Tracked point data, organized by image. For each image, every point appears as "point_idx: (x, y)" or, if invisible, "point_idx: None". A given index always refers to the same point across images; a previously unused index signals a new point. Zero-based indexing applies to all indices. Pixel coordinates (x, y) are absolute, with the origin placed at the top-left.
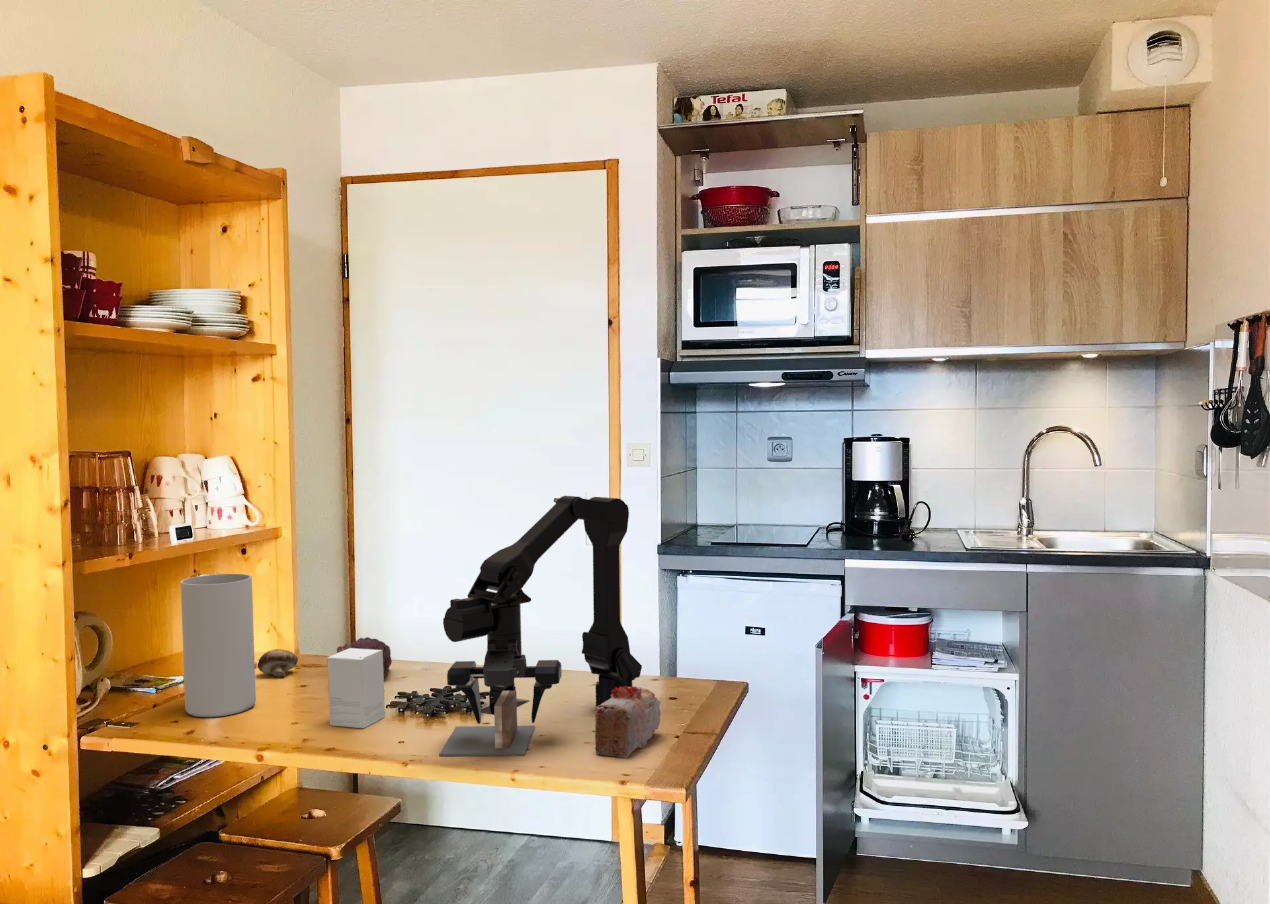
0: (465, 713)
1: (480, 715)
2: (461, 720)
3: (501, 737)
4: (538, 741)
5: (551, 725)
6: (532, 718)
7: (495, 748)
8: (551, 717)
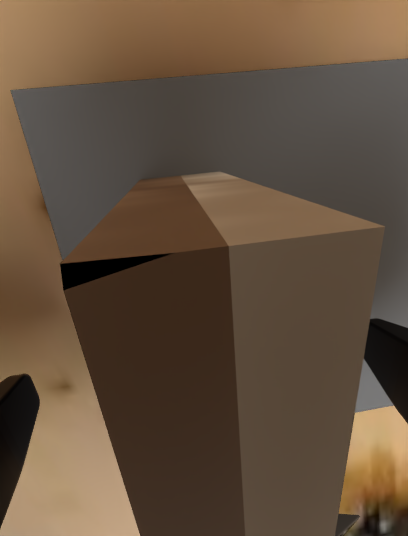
0: (380, 502)
1: (388, 369)
2: (390, 457)
3: (188, 180)
4: (42, 317)
5: (68, 475)
6: (3, 393)
7: (216, 165)
8: (101, 529)
